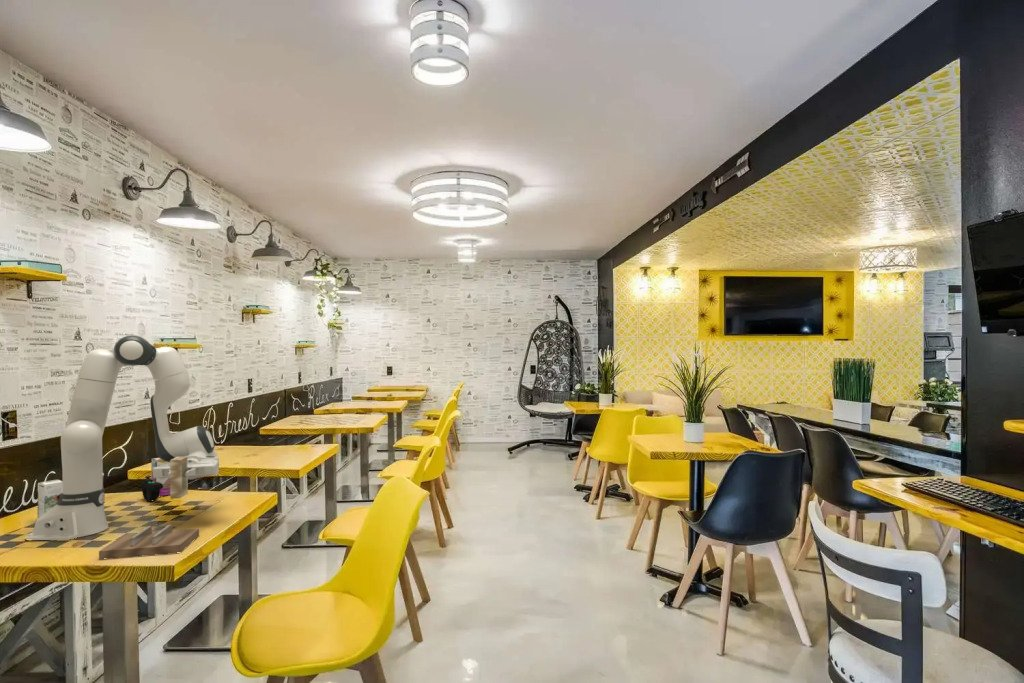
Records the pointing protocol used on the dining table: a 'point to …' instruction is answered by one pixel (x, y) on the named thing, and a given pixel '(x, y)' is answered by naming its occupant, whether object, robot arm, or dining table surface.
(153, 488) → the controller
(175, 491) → the tan wooden block
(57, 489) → the syrup box
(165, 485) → the candy bar box
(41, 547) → the dining table surface
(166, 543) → the notch board
